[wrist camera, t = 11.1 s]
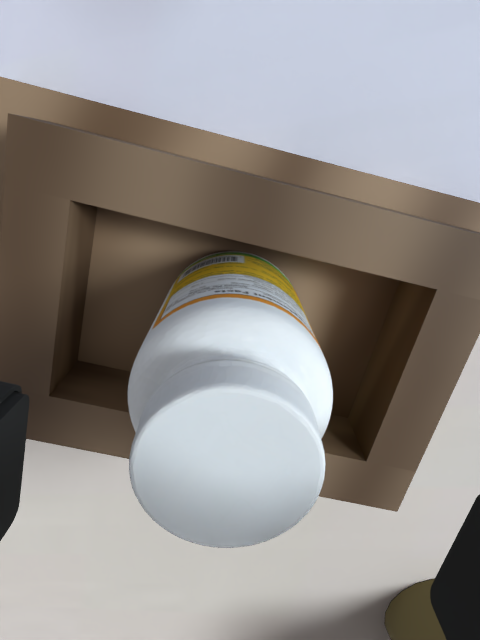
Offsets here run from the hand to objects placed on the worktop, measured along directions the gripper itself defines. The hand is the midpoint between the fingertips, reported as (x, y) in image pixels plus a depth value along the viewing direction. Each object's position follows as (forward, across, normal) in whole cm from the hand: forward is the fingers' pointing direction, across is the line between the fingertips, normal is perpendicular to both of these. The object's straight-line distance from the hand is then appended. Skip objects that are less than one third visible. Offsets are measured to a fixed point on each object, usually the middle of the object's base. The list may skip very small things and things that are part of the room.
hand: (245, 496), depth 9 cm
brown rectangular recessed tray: (+11, +1, -1) cm, 11 cm away
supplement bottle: (+10, +1, -1) cm, 10 cm away
